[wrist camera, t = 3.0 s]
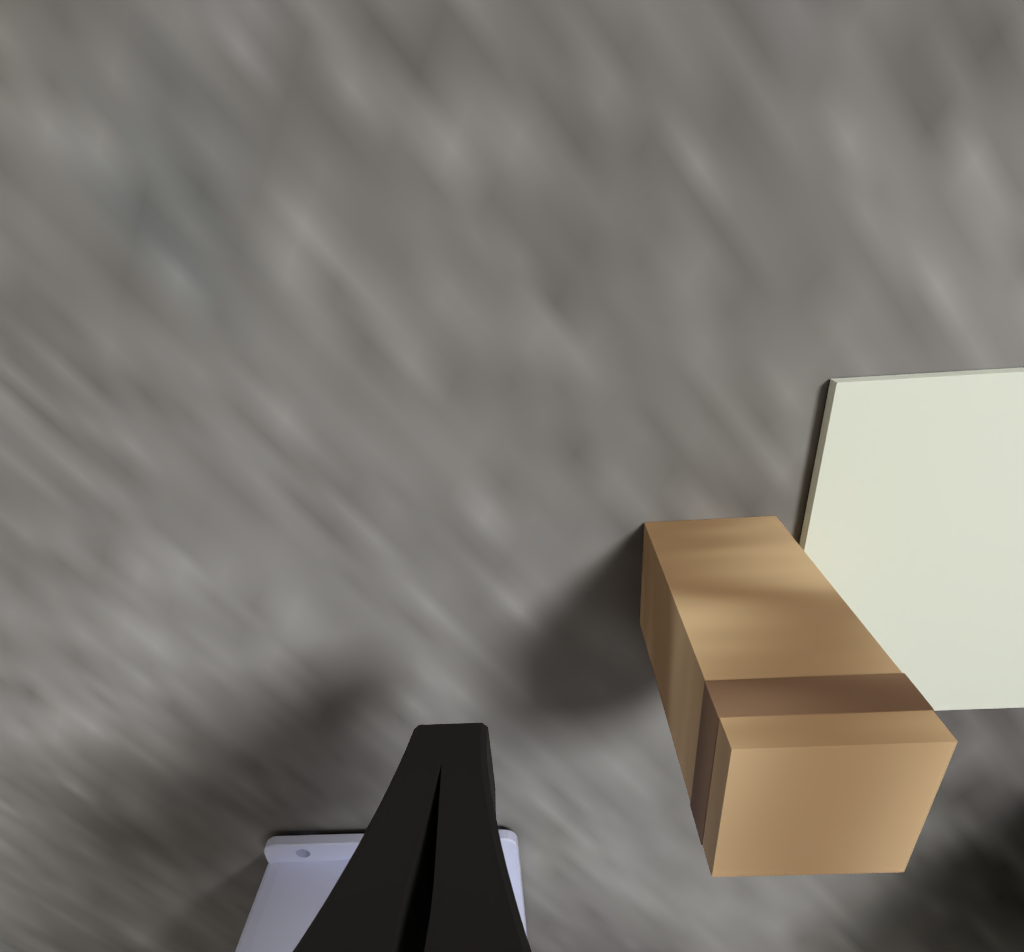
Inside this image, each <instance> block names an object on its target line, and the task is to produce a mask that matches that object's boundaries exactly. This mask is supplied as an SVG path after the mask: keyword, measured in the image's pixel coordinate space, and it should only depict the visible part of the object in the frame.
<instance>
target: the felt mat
mask: <svg viewBox="0 0 1024 952" xmlns="http://www.w3.org/2000/svg"><path fill="white" fill-rule="evenodd" d="M799 545H800V547H801V548H802V549H803V550H804V552H805V553H806V554H807V555H808V557H809V558H810V559H811V560H812V562H813V563H814V564H815V565H816V567H817V568H818V569H819V570H820V571H821V573H822V574H823V575H824V576H825V578H826V579H827V580H828V581H829V583H830V584H831V585H832V586H833V588H834V589H835V590H836V591H837V593H838V594H839V595H840V596H841V598H842V599H843V600H844V601H845V602H846V604H847V605H848V606H849V607H850V609H851V610H852V611H853V612H854V614H855V615H856V616H857V617H858V619H859V620H860V621H861V622H862V624H863V625H864V626H865V627H866V629H867V630H868V631H869V632H870V633H871V635H872V636H873V637H874V638H875V640H876V641H877V642H878V643H879V645H880V646H881V647H882V648H883V650H884V651H885V652H886V653H887V655H888V656H889V657H890V658H891V659H892V661H893V662H894V663H895V664H896V666H897V667H898V668H899V669H900V671H901V672H902V673H905V674H906V675H907V677H908V678H909V679H910V680H911V682H912V683H913V684H914V685H915V687H916V688H917V689H918V690H919V691H920V693H921V694H922V695H923V696H924V698H925V699H926V700H927V701H928V703H929V704H930V705H931V706H932V708H933V709H934V711H935V710H963V709H990V708H1017V707H1024V367H1023V368H1006V369H989V370H972V371H955V372H939V373H922V374H905V375H888V376H871V377H854V378H837V379H830V385H829V390H828V395H827V400H826V406H825V411H824V416H823V422H822V427H821V432H820V437H819V443H818V448H817V453H816V459H815V464H814V469H813V474H812V480H811V485H810V490H809V496H808V501H807V506H806V512H805V517H804V522H803V527H802V533H801V538H800V543H799Z"/></svg>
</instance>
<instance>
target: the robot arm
mask: <svg viewBox="0 0 1024 952" xmlns="http://www.w3.org/2000/svg"><path fill="white" fill-rule="evenodd" d="M264 854H265V856H266V859H267V861H268V863H269V864H268V865H267V868H266V871H265V873H264V876H263V879H262V881H261V884H260V887H259V889H258V892H257V895H256V897H255V900H254V903H253V905H252V908H251V911H250V913H249V916H248V919H247V921H246V924H245V926H244V929H243V932H242V934H241V937H240V940H239V942H238V945H237V948H236V950H235V952H531V949H530V946H529V943H528V939H527V928H526V918H525V908H524V898H523V888H522V878H521V868H520V858H519V848H518V838H517V835H516V834H515V833H514V832H512V831H510V830H506V829H498V826H497V821H496V807H495V782H494V774H493V765H492V757H491V749H490V741H489V733H488V727H487V726H486V725H484V724H483V723H462V724H434V725H419V726H417V727H416V728H415V729H414V731H413V734H412V736H411V739H410V741H409V743H408V746H407V748H406V750H405V753H404V755H403V757H402V760H401V762H400V764H399V766H398V768H397V771H396V773H395V775H394V777H393V779H392V781H391V783H390V785H389V787H388V789H387V791H386V793H385V795H384V797H383V799H382V801H381V803H380V805H379V807H378V809H377V811H376V813H375V815H374V817H373V818H372V820H371V822H370V824H369V826H368V828H367V830H366V832H365V833H360V834H326V835H292V836H274V837H272V838H270V839H269V840H268V841H267V843H266V846H265V848H264Z"/></svg>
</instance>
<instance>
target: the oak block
mask: <svg viewBox="0 0 1024 952" xmlns="http://www.w3.org/2000/svg"><path fill="white" fill-rule="evenodd" d="M640 626H641V629H642V633H643V636H644V640H645V643H646V647H647V650H648V654H649V657H650V661H651V665H652V668H653V672H654V675H655V679H656V682H657V686H658V689H659V693H660V696H661V700H662V703H663V707H664V710H665V714H666V717H667V721H668V724H669V728H670V731H671V735H672V739H673V742H674V746H675V749H676V753H677V756H678V760H679V763H680V767H681V770H682V774H683V777H684V781H685V784H686V788H687V791H688V795H689V798H690V802H691V803H690V806H691V810H692V813H693V817H694V820H695V824H696V828H697V831H698V835H699V838H700V842H701V845H703V848H704V851H705V855H706V858H707V862H708V865H709V869H710V872H711V876H712V877H733V876H772V875H811V874H850V873H889V872H904V871H905V868H906V866H907V863H908V861H909V859H910V856H911V854H912V851H913V849H914V846H915V844H916V842H917V839H918V837H919V834H920V832H921V829H922V827H923V825H924V822H925V820H926V817H927V815H928V812H929V810H930V808H931V805H932V803H933V800H934V798H935V795H936V793H937V791H938V788H939V786H940V783H941V781H942V778H943V776H944V774H945V771H946V769H947V766H948V764H949V761H950V759H951V757H952V754H953V752H954V749H955V747H956V744H957V742H958V741H957V740H956V739H955V738H954V736H953V735H952V734H951V733H950V731H949V730H948V729H947V728H946V726H945V725H944V724H943V723H942V721H941V720H940V719H939V718H938V717H937V715H936V714H935V713H934V712H933V711H934V709H933V708H932V706H931V705H930V704H929V703H928V701H927V700H926V699H925V698H924V696H923V695H922V694H921V693H920V691H919V690H918V689H917V688H916V687H915V685H914V684H913V683H912V682H911V680H910V679H909V678H908V677H907V675H906V674H905V673H902V672H901V671H900V669H899V668H898V667H897V666H896V664H895V663H894V662H893V661H892V659H891V658H890V657H889V656H888V655H887V653H886V652H885V651H884V650H883V648H882V647H881V646H880V645H879V643H878V642H877V641H876V640H875V638H874V637H873V636H872V635H871V633H870V632H869V631H868V630H867V629H866V627H865V626H864V625H863V624H862V622H861V621H860V620H859V619H858V617H857V616H856V615H855V614H854V612H853V611H852V610H851V609H850V607H849V606H848V605H847V604H846V602H845V601H844V600H843V599H842V598H841V596H840V595H839V594H838V593H837V591H836V590H835V589H834V588H833V586H832V585H831V584H830V583H829V581H828V580H827V579H826V578H825V576H824V575H823V574H822V573H821V571H820V570H819V569H818V568H817V567H816V565H815V564H814V563H813V562H812V560H811V559H810V558H809V557H808V555H807V554H806V553H805V552H804V550H803V549H802V548H801V547H800V545H799V544H798V543H797V542H796V541H795V539H794V538H793V537H792V536H791V534H790V533H789V532H788V531H787V529H786V528H785V527H784V526H783V524H782V523H781V522H780V521H779V519H778V518H777V517H776V516H764V517H744V518H724V519H704V520H684V521H664V522H644V540H643V563H642V585H641V608H640Z"/></svg>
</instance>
